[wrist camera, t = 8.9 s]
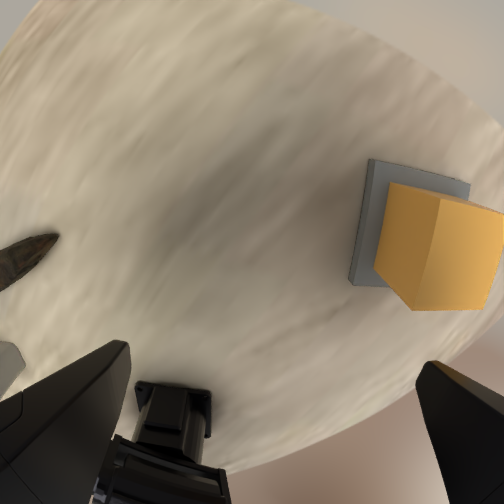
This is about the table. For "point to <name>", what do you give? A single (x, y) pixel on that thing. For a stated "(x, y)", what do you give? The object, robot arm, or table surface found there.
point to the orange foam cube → (438, 249)
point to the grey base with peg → (375, 210)
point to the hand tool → (23, 257)
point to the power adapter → (9, 365)
